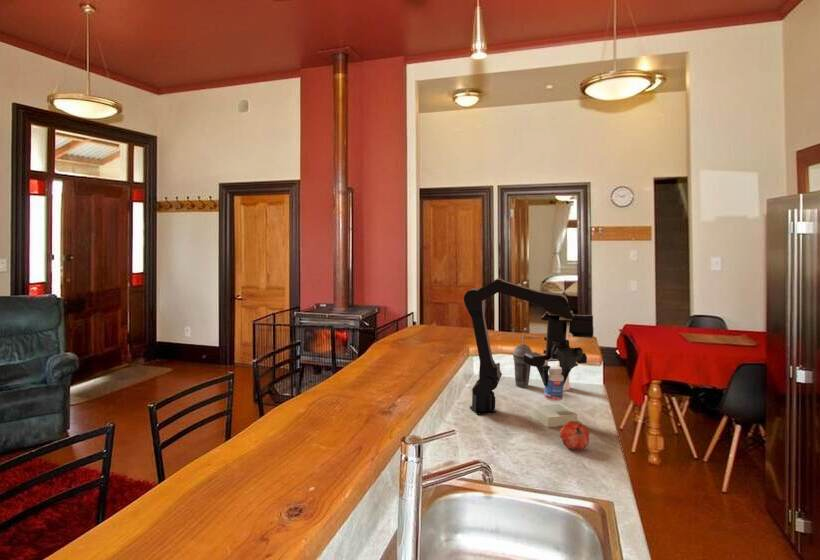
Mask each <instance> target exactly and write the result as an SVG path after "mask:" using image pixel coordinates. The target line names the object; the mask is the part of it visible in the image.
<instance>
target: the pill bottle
mask: <svg viewBox="0 0 820 560" xmlns="http://www.w3.org/2000/svg"><path fill="white" fill-rule="evenodd" d="M549 366H550V369H549V370H548V384H547V387H546V386H544V393H543V395H544V399H546V400H548V401H550V402H560V401H561V402H562V400H563V399H564V398H563V394H564V390H563V383H564V377H563V375H561V373H562V368H561V367H558V366H556V365H549Z"/></svg>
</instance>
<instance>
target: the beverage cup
mask: <svg viewBox="0 0 820 560" xmlns="http://www.w3.org/2000/svg"><path fill="white" fill-rule="evenodd" d="M526 353H533V350H532V349H531V347H530V346H528V345H527V344H525V332H522V344H518V345H517V346H516V347H515V348H514V351H513V353H512V356H513V358H512V359H513V362H514V363H513V365H514V381H515V386H516V387H517V388H521V389H522V388H524V389H525V388H528V387H529V381H530V376H531V375H530V374H531V368H532V366H531V365H529V364H527V363H525V362H524V355H525V354H526Z"/></svg>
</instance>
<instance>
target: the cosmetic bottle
mask: <svg viewBox="0 0 820 560" xmlns="http://www.w3.org/2000/svg"><path fill="white" fill-rule="evenodd" d="M568 335H569V331H567V334H566V339H567V340H569V339H568V337H569V336H568ZM555 366H558V367H560V363H559V361H556V364H555ZM569 390H571V384H570V373H569V374H568V377H567V379H566V381H565V383H564V385H563V391H569Z"/></svg>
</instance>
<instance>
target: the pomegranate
mask: <svg viewBox="0 0 820 560" xmlns="http://www.w3.org/2000/svg"><path fill="white" fill-rule="evenodd" d="M589 434H590V432H589V428H587V426H586V425H584V424H581V423H580V422H578V421H577V422H576V421H570V422H567V423H566V424H565V425H564V426H562V427H561V428H560V432H559V435H560V438H561V441H562V443H563V445H564V446H565V447H566V448H568V450H569V449H570V450H572V451H573V450H574V451H575V450H579V451H583V450H585V449H586V448H587V447H588V446H589V443H590V438H589V437H590V435H589Z"/></svg>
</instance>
